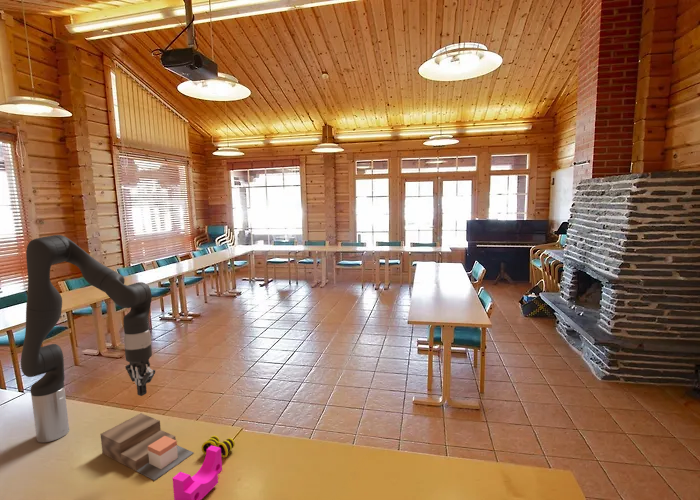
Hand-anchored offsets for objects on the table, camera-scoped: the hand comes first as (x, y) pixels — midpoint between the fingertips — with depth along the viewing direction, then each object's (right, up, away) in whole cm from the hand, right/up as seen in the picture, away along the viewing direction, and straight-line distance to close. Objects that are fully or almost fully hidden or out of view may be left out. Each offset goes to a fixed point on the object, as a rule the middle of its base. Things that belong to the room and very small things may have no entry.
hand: (142, 394), depth 121 cm
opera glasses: (+25, -21, +2) cm, 32 cm away
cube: (+8, -15, -3) cm, 17 cm away
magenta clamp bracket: (+25, -22, -13) cm, 36 cm away
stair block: (+1, -21, +2) cm, 21 cm away
